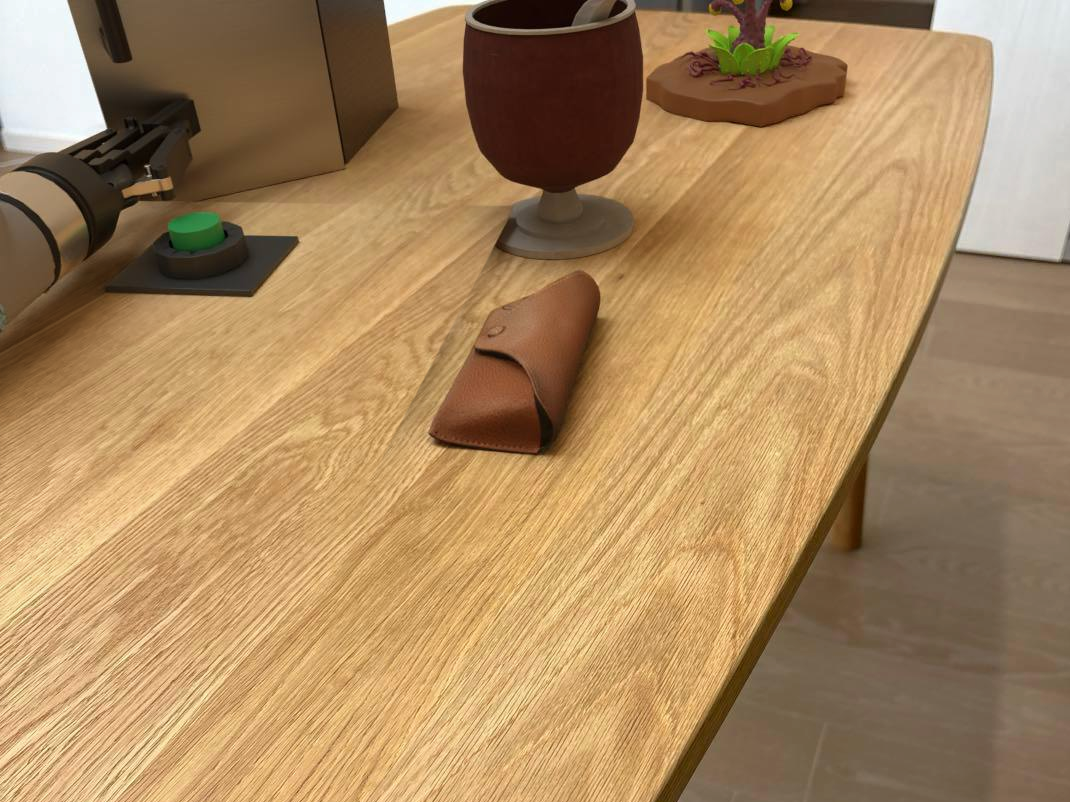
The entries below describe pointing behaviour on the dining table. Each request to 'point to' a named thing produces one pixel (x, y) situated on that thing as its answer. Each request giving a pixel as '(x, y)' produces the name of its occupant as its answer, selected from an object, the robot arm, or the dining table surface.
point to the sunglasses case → (521, 370)
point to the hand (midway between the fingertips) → (188, 115)
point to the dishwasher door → (219, 84)
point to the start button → (196, 231)
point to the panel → (205, 266)
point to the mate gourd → (555, 114)
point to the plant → (747, 74)
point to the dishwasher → (358, 68)
